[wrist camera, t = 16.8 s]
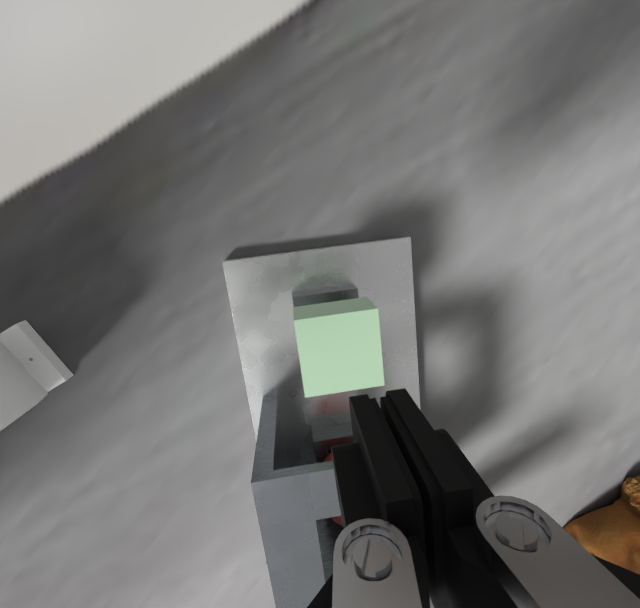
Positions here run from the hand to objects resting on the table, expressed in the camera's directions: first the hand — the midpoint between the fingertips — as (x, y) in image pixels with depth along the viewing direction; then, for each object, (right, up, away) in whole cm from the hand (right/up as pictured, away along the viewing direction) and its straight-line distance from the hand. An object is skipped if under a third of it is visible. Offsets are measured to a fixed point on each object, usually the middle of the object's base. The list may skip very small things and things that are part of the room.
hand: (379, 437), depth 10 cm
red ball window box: (-1, -2, +15) cm, 15 cm away
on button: (-1, +2, +10) cm, 11 cm away
